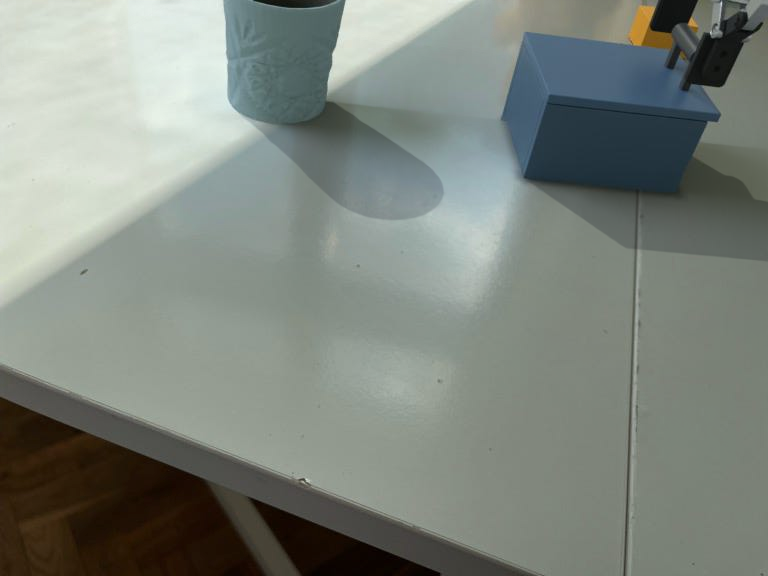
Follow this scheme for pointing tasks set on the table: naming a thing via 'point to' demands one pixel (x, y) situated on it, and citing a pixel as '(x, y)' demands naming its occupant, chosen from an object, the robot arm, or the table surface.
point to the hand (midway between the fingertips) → (683, 56)
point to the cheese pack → (649, 38)
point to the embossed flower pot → (280, 56)
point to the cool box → (595, 140)
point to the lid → (620, 75)
